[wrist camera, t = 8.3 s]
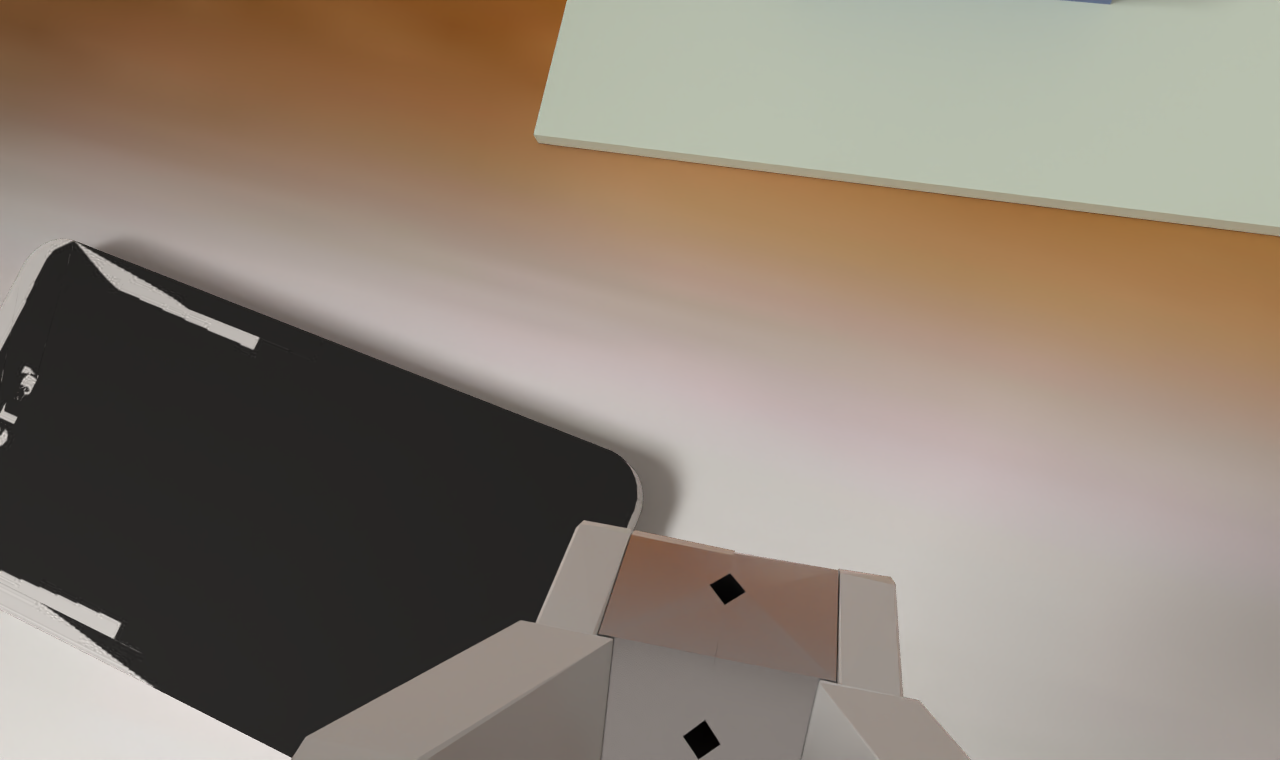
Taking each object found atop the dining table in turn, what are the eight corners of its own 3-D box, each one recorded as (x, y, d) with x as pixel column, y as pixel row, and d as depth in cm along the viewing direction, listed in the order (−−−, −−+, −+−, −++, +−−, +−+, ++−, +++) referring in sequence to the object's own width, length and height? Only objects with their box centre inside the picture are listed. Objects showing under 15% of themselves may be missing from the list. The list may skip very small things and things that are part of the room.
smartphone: (492, 858, 18) (-126, 545, 22) (512, 844, 20) (-75, 550, 23) (651, 466, 20) (42, 228, 23) (661, 476, 21) (82, 249, 24)
